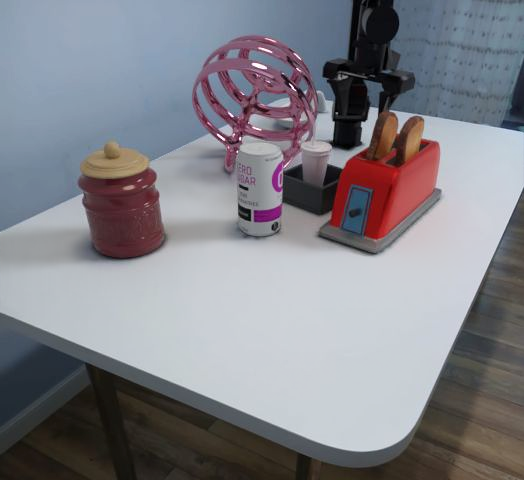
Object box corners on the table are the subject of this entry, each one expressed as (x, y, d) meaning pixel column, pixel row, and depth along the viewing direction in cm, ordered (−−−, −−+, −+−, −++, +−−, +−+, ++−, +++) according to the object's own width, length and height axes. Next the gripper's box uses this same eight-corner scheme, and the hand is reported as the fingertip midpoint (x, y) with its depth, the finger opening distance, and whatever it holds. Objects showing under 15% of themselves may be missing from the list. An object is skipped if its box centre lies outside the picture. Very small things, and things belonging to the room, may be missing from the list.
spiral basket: (261, 105, 87) (302, -13, 94) (147, 122, 102) (189, 19, 108) (318, 198, 111) (348, 99, 117) (218, 201, 125) (250, 112, 131)
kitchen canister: (163, 222, 96) (150, 126, 84) (168, 255, 86) (154, 153, 75) (94, 228, 94) (71, 131, 82) (91, 263, 84) (64, 159, 73)
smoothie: (295, 186, 107) (298, 118, 98) (324, 185, 108) (330, 117, 98) (300, 199, 102) (304, 128, 93) (330, 198, 103) (337, 127, 94)
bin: (276, 198, 104) (277, 173, 101) (310, 182, 111) (312, 158, 107) (320, 215, 99) (322, 189, 95) (353, 197, 105) (356, 172, 102)
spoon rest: (302, 135, 135) (304, 107, 130) (265, 129, 140) (265, 101, 135) (336, 113, 151) (338, 87, 146) (301, 108, 155) (303, 82, 150)
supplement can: (286, 221, 96) (289, 142, 87) (273, 241, 90) (275, 158, 81) (247, 215, 98) (246, 137, 89) (232, 234, 92) (228, 152, 83)
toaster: (377, 256, 86) (396, 146, 74) (314, 235, 92) (323, 130, 80) (443, 195, 106) (467, 100, 94) (388, 181, 112) (404, 89, 99)
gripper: (437, 34, 94) (420, 121, 104) (356, 22, 103) (347, 103, 113) (407, 43, 87) (391, 134, 98) (323, 29, 97) (317, 114, 107)
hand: (361, 120), depth 104 cm, fingers open, 9 cm apart
